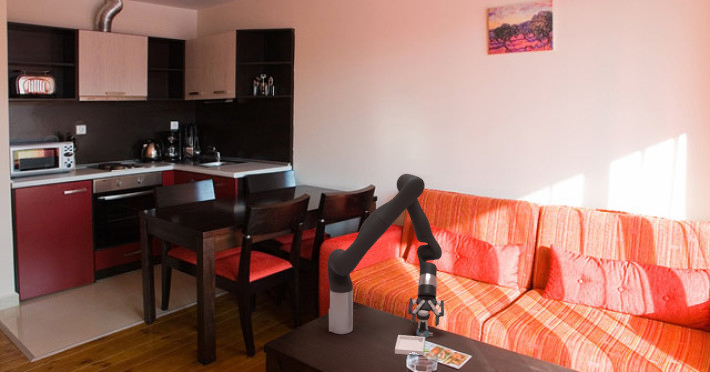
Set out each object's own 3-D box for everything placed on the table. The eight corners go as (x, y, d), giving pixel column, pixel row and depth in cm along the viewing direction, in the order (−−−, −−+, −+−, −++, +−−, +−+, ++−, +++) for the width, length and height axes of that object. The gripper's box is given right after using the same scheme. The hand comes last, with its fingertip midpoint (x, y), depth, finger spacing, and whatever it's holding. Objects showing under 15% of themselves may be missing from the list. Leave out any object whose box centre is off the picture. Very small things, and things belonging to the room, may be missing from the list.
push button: (434, 334, 216) (434, 310, 214) (431, 340, 211) (431, 315, 209) (417, 332, 218) (418, 308, 216) (414, 337, 213) (415, 313, 211)
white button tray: (394, 353, 199) (394, 349, 199) (398, 339, 211) (398, 334, 211) (423, 355, 197) (423, 351, 197) (425, 341, 209) (425, 337, 209)
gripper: (409, 282, 220) (406, 319, 211) (444, 284, 218) (443, 322, 208) (410, 290, 226) (407, 327, 217) (444, 292, 224) (443, 329, 214)
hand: (425, 324), depth 213 cm, fingers open, 8 cm apart
